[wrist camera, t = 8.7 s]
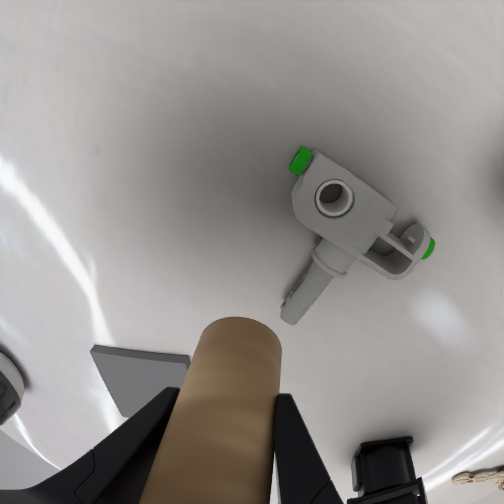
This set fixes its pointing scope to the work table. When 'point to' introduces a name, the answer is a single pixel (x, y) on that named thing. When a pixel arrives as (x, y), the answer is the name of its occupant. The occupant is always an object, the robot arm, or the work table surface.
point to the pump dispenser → (9, 389)
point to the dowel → (222, 421)
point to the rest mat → (137, 375)
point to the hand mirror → (480, 478)
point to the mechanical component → (345, 230)
